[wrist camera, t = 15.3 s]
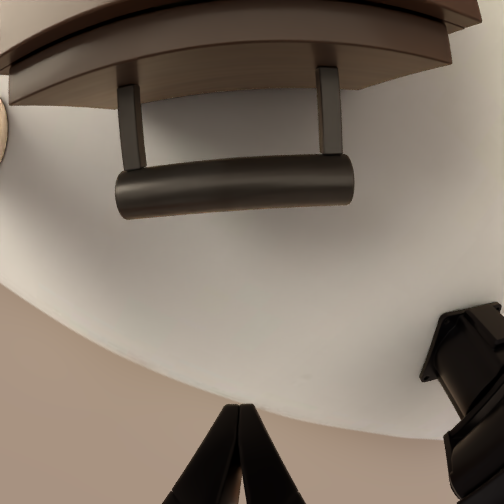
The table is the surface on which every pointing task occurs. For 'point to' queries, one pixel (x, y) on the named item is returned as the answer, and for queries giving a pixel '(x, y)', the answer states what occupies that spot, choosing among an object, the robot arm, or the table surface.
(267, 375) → the table surface
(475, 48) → the table surface
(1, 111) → the beer glass
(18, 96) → the drawer
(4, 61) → the cabinet
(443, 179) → the table surface
